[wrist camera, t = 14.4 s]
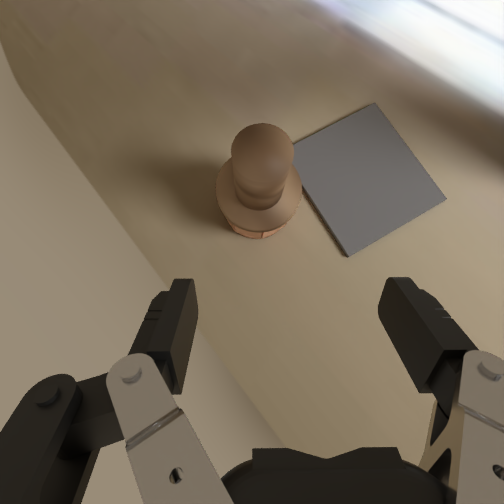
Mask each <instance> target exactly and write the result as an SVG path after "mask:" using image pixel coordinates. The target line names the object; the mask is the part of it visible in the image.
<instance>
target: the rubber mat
mask: <svg viewBox="0 0 504 504" xmlns="http://www.w3.org/2000/svg"><path fill="white" fill-rule="evenodd" d="M293 147H294V157H293V161H292V164H293V165H294V167H295V168H296V170H297V172H298V174H299V176H300V179H301V183H302V188H303V190H304V191H305V193H306V194H307V196H308V197H309V199H310V201H311V202H312V204H313V205H314V207H315V208H316V210H317V211H318V213H319V214H320V216H321V218H322V219H323V221H324V222H325V224H326V225H327V227H328V228H329V230H330V231H331V233H332V235H333V236H334V238H335V239H336V241H337V242H338V244H339V245H340V247H341V248H342V250H343V252H344V253H345V255H346V256H347V258H348V257H349V256H351V255H353V254H355V253H356V252H358V251H360V250H361V249H363V248H365V247H366V246H368V245H370V244H372V243H373V242H375V241H377V240H378V239H380V238H382V237H383V236H385V235H387V234H389V233H390V232H392V231H394V230H395V229H397V228H399V227H400V226H402V225H404V224H406V223H407V222H409V221H411V220H412V219H414V218H416V217H417V216H419V215H421V214H423V213H424V212H426V211H428V210H429V209H431V208H433V207H434V206H436V205H438V204H439V203H441V202H443V201H445V200H446V199H447V198H446V197H445V196H444V194H443V193H442V192H441V190H440V189H439V187H438V186H437V185H436V183H435V182H434V181H433V179H432V178H431V177H430V175H429V174H428V173H427V171H426V170H425V169H424V167H423V166H422V165H421V163H420V162H419V161H418V159H417V158H416V157H415V155H414V154H413V153H412V151H411V150H410V149H409V147H408V146H407V145H406V143H405V142H404V141H403V139H402V138H401V137H400V135H399V134H398V133H397V131H396V130H395V129H394V127H393V126H392V125H391V123H390V122H389V121H388V119H387V118H386V117H385V115H384V114H383V113H382V111H381V110H380V109H379V107H378V106H377V105H376V103H373V104H371V105H369V106H367V107H365V108H363V109H361V110H359V111H358V112H356V113H354V114H352V115H350V116H348V117H346V118H344V119H342V120H340V121H338V122H336V123H334V124H332V125H330V126H329V127H327V128H325V129H323V130H321V131H319V132H317V133H315V134H313V135H311V136H309V137H307V138H305V139H303V140H301V141H299V142H298V143H296V144H294V145H293Z"/></svg>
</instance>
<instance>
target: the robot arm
mask: <svg viewBox="0 0 504 504" xmlns="http://www.w3.org/2000/svg"><path fill="white" fill-rule="evenodd" d="M378 315H379V318H380V321H381V323H382V324H383V326H384V328H385V330H386V332H387V334H388V336H389V337H390V339H391V341H392V343H393V345H394V347H395V349H396V351H397V352H398V354H399V356H400V358H401V360H402V362H403V364H404V366H405V367H406V369H407V371H408V373H409V375H410V377H411V379H412V380H413V382H414V384H415V386H416V388H417V390H418V392H419V393H433V394H434V396H435V398H436V400H435V402H434V404H433V409H432V414H431V419H430V424H429V429H428V435H427V440H426V445H425V450H424V453H423V456H422V459H421V461H420V463H419V466H416V465H414V464H412V463H409V462H407V461H405V460H402V459H401V456H400V454H399V451H398V449H397V447H362V448H358V449H356V450H353V451H350V452H347V453H344V454H341V455H338V456H335V457H332V458H329V459H324V458H320V457H317V456H313V455H310V454H306V453H303V452H299V451H296V450H292V449H289V448H261V449H259V448H257V449H256V448H255V449H252V453H253V454H252V458H253V459H252V460H248V461H246V462H243V463H241V464H239V465H237V466H236V467H234V468H233V469H232V470H230V471H229V472H227V473H226V474H225V475H224V476H223V477H222V478H221V479H220V477H219V475H218V474H217V472H216V470H215V468H214V466H213V464H212V463H211V461H210V459H209V457H208V456H207V453H206V451H205V450H204V448H203V446H202V444H201V442H200V440H199V439H198V437H197V435H196V433H195V431H194V429H193V428H192V426H191V424H190V422H189V420H188V418H187V417H186V415H185V413H184V412H183V410H182V409H179V407H178V406H177V404H176V402H175V400H174V398H173V396H172V395H174V394H181V393H182V388H183V384H184V379H185V375H186V370H187V365H188V361H189V357H190V352H191V348H192V343H193V338H194V333H195V329H196V325H197V320H198V304H197V297H196V291H195V284H194V280H193V279H174V280H173V283H172V285H171V288H170V291H161V292H160V293H159V294H158V295H157V296H156V297H155V298H154V299H153V300H152V302H151V304H150V306H149V309H148V312H147V313H146V315H145V318H144V321H143V322H142V325H141V327H140V329H139V331H138V333H137V336H136V338H135V340H134V343H133V345H132V347H131V349H130V352H129V354H128V356H126V357H124V358H122V359H120V360H119V361H118V362H116V363H115V364H114V365H113V366H112V368H111V369H110V371H109V372H108V373H105V374H103V375H100V376H96V377H93V378H90V379H86V380H83V381H79V382H76V381H75V379H74V378H73V377H72V376H70V375H67V374H57V375H53V376H50V377H48V378H46V379H43V380H42V381H40V382H38V383H37V384H36V385H34V386H33V387H32V388H31V389H30V390H29V391H28V392H27V393H26V394H25V396H24V397H23V398H22V400H21V401H20V403H19V405H18V406H17V407H16V409H15V411H14V412H13V414H12V415H11V417H10V418H9V420H8V422H7V423H6V424H5V426H4V427H3V429H2V431H1V432H0V504H81V502H82V499H83V496H84V494H85V491H86V488H87V485H88V482H89V479H90V476H91V473H92V471H93V468H94V465H95V462H96V459H97V457H98V454H99V451H100V448H101V447H104V446H107V445H110V444H113V443H115V442H118V441H121V440H124V439H125V442H126V451H127V454H128V458H129V461H130V464H131V467H132V470H133V473H134V476H135V479H136V482H137V485H138V488H139V491H140V494H141V497H142V500H143V503H144V504H504V360H502V359H501V358H499V357H497V356H495V355H493V354H491V353H488V352H484V351H479V349H478V348H477V347H476V346H475V345H474V343H473V342H472V341H471V340H470V339H469V337H468V336H467V335H466V334H465V333H464V332H463V330H462V329H461V328H460V327H459V326H458V324H457V323H456V322H455V321H454V320H453V319H451V316H450V315H449V314H448V312H447V311H446V310H444V308H443V306H442V305H441V304H440V303H439V302H438V300H437V299H436V298H435V297H433V296H432V295H430V294H429V293H427V292H426V291H425V290H423V289H419V288H418V287H417V285H416V284H415V283H414V282H413V280H412V279H411V278H409V277H389V278H388V279H387V280H386V283H385V286H384V289H383V292H382V295H381V298H380V301H379V304H378Z"/></svg>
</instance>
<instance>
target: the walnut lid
mask: <svg viewBox="0 0 504 504" xmlns="http://www.w3.org/2000/svg"><path fill="white" fill-rule="evenodd" d="M231 155H232V157H231V158H230V159H229V160H228V161H227V162H226V163H225V164H224V165H223V167H222V168H221V170H220V172H219V174H218V176H217V180H216V187H215V188H216V197H217V201H218V204H219V207H220V209H221V211H222V213H223V215H224V216H225V217H226V218H227V219H228V221H230V222H231V223H232V224H233V225H235V226H236V227H238V228H240V229H242V230H245V231H249V232H255V233H263V232H269V231H272V230H275V229H277V228H280V227H281V226H283V225H284V224H285V223H287V222H288V221H289V220H290V219H291V218H292V216H293V215H294V213H295V211H296V210H297V208H298V205H299V203H300V200H301V196H302V183H301V179H300V176H299V174H298V172H297V170H296V168H295V167H294V165H293V164H292V161H293V157H294V147H293V144H292V141H291V139H290V138H289V136H288V135H287V134H286V133H285V132H284V131H283V130H282V129H280V128H278V127H276V126H274V125H271V124H265V123H259V124H253V125H250V126H248V127H246V128H244V129H243V130H241V131H240V132H239V133H238V134H237V136H236V137H235V139H234V141H233V143H232V148H231Z"/></svg>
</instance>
